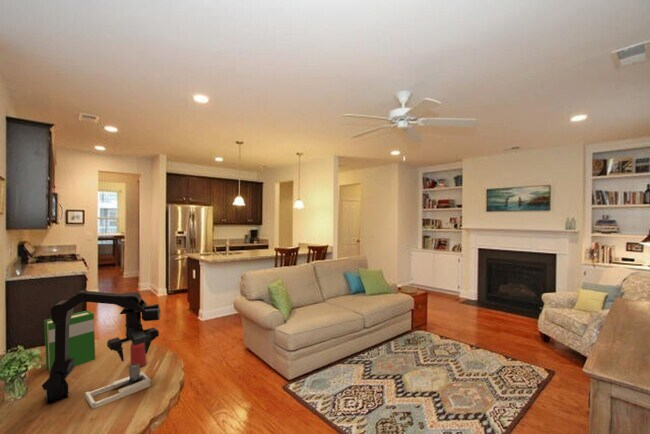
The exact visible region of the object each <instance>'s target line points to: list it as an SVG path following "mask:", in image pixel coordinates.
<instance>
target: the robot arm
mask: <svg viewBox="0 0 650 434" xmlns="http://www.w3.org/2000/svg"><path fill="white" fill-rule="evenodd" d="M81 303H94V304H108V305H115V306H118V307H121V308H122V310H121V311H120V313H119V315H125V324H124V327H125V337H124V338H121V339H120V338H119V337H117V336H116V337H115V338H110V339H108V340H107V342H106V346H107V348H108V349H109V350H110V351H114V352H116V353H117V355H118V356H119V358H120V361H121V362H122V363H123V362H124V360H125V359H124V357H125V356H124V352H123V349H124V347H123V344H126V343H129V342H131V344H132V343H133V345H138V344H141V343H145V354H146V355H147V354H148V352H149V349H150V346H151V343H153V341H154V340H156V339H157V337H160V332H159V330H158V329H157V328H155V327H150V328H147V329H144V328H143V324H142V321H144V322H152V321H153V322H154V321H160V319H161V308H160V304H159V303H156V304H151V305H150V304H148V303H147V302H145V301H144V299H143V298H142V295H141V294H140V292H135V291H131V292H130V291H129V292H123V293H113V292H112V293H111V292H103V291H94V290H93V291H92V290H87V289H83V290H80V291H79V292H78V293H76V294H74V295H73V296H72V297H70V298H69V299H65V300H61V301H59V302H58V303H57V304H54V305H53V306H52V307H51V308H50V310H49V314H50V319H51V320H52V322H53V323H54V325H55V359H54V362H53V365H52V367H51V371H50V370H49V375H48V378H47V380H46V381H45V382H44V383H43V384H41V387H42V389H43V390H44V391H45V397H44V399H45V402H46V404H47V405H50V404H54V403H57V402H59V401H62V400H64V399H67V398H68V397H69V395H68V394H69V384H68V382H67V380H66V379H67V378H68V376H69V375H70V374H71V373H72V371H73V370H74V368H75V367H76V366H75V365H74V360H75V358H72V359H71V358H70V357H69V322H70V319H71V317H72V314H74V310H75V307H77V306H79V304H81Z"/></svg>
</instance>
